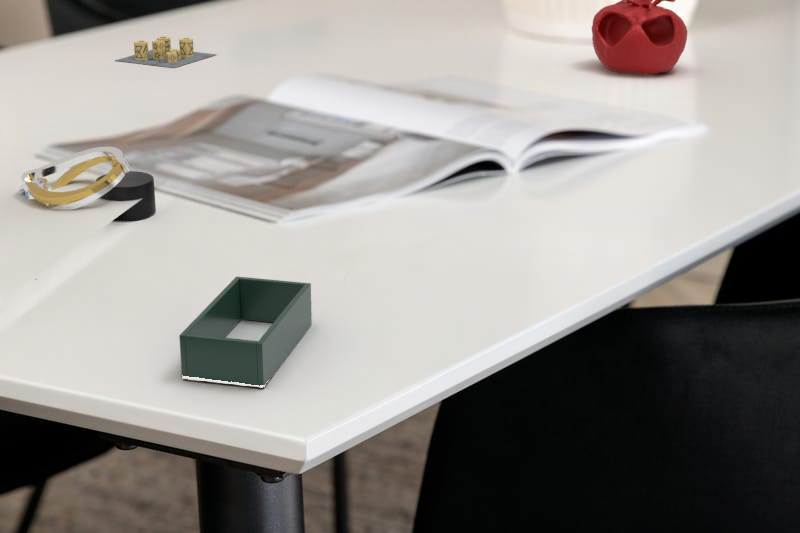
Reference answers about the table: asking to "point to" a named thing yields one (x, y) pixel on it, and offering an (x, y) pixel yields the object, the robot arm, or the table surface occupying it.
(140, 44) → the dice set
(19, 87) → the table surface
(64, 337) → the table surface
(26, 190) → the ring
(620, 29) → the red rounded hollow piece
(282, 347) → the dark green hollow box
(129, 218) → the black round cut piece
